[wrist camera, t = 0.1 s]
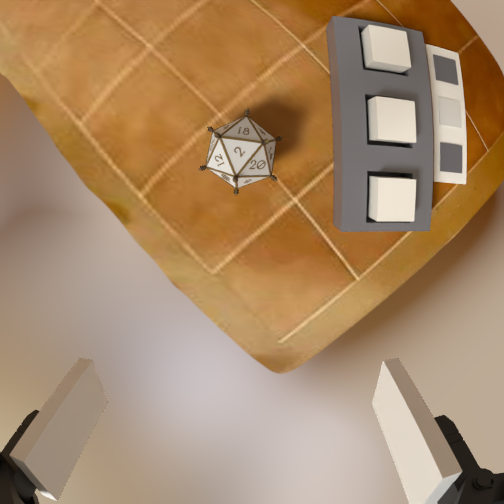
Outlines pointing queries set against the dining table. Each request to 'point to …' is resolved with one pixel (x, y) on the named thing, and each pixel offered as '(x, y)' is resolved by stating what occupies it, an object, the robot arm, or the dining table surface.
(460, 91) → the pattern card
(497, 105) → the dining table surface
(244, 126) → the game die
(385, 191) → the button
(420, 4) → the dining table surface
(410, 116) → the middle button
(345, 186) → the button board
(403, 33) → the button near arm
